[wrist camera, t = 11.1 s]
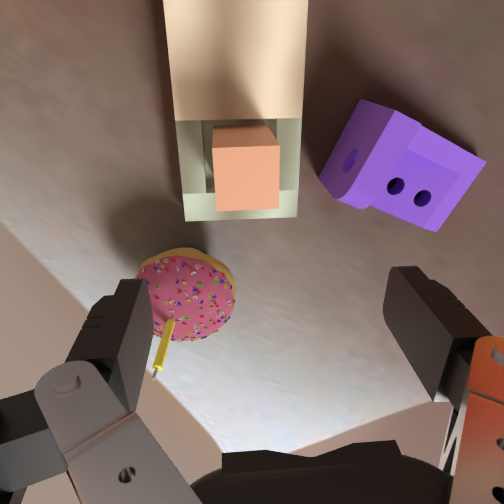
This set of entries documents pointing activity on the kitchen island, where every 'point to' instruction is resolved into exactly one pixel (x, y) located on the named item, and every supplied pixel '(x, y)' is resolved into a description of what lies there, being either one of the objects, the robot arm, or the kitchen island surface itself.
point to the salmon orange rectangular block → (245, 167)
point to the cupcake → (186, 296)
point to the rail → (236, 89)
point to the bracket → (398, 167)
